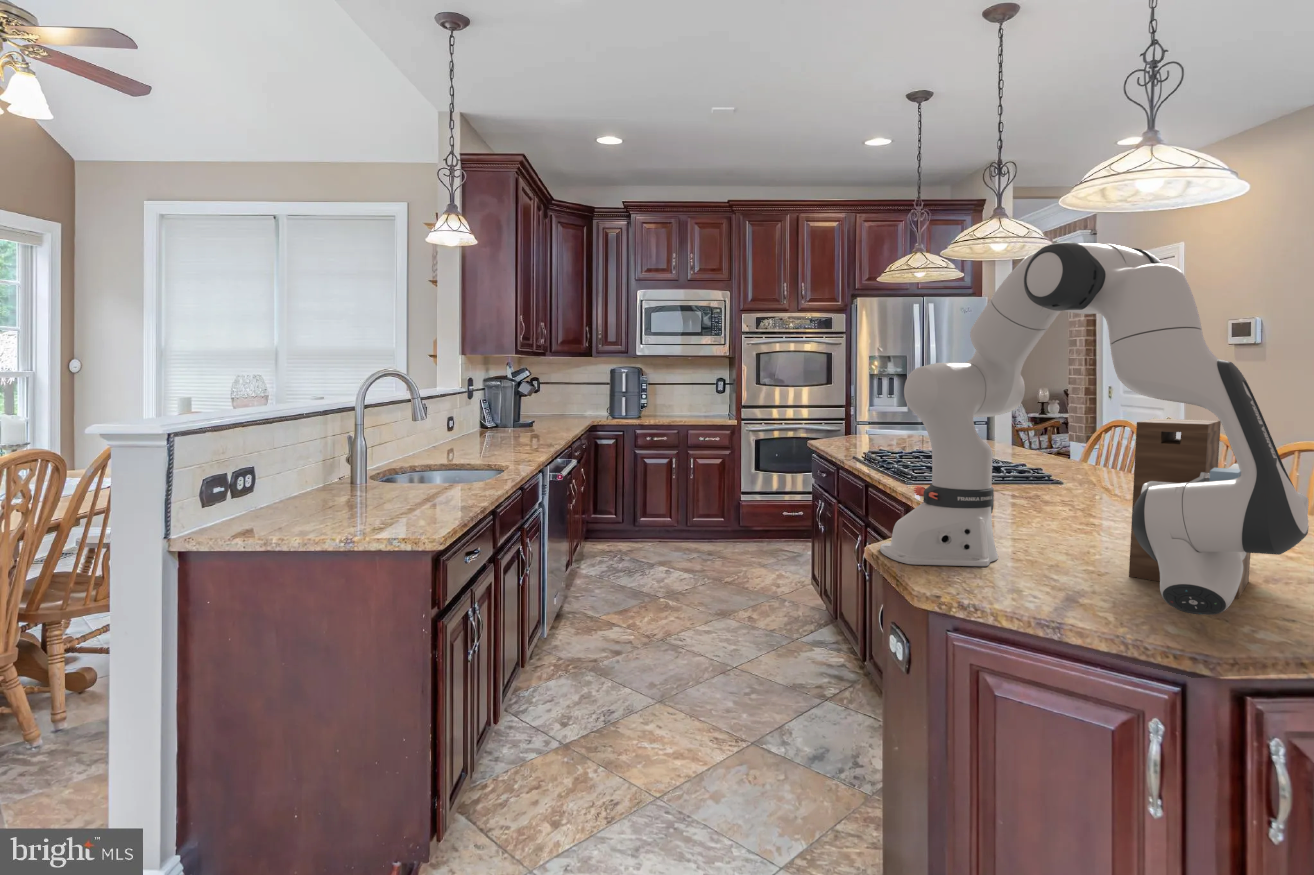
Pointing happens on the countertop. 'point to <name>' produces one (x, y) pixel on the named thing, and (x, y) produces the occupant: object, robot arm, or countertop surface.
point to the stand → (1172, 472)
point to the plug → (1225, 473)
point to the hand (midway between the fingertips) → (1226, 477)
